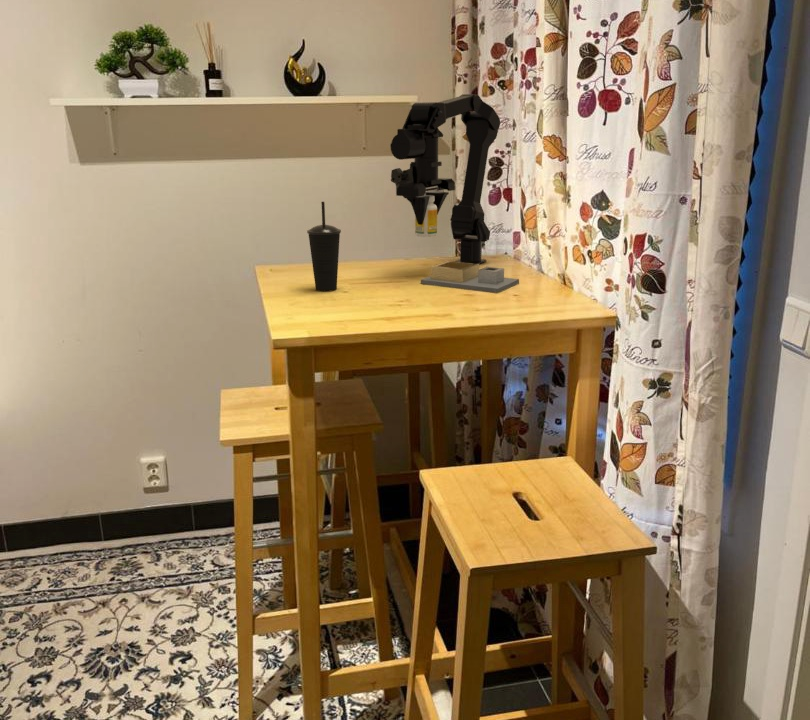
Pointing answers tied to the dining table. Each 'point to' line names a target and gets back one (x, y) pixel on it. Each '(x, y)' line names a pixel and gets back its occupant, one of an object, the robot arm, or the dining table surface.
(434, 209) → the supplement bottle
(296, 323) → the dining table surface
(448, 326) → the dining table surface
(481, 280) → the steel collar
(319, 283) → the drinking cup
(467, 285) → the fitting board
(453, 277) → the square wooden frame
